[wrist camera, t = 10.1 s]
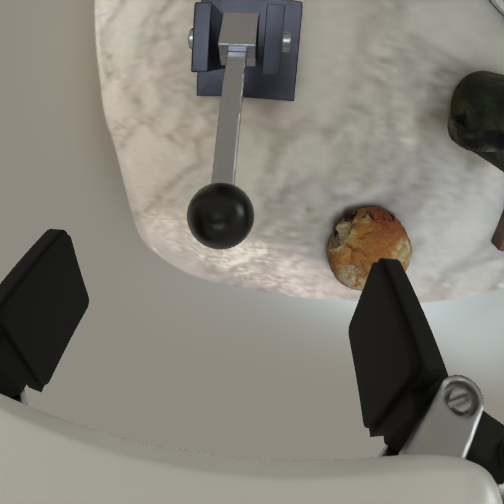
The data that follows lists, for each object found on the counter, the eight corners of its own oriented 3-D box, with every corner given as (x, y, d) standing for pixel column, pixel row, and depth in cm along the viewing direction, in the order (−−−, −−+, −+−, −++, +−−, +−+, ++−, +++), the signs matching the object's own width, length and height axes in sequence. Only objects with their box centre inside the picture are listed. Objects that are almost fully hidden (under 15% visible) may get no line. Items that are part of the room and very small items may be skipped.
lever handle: (251, 251, 18) (251, 252, 15) (191, 246, 18) (177, 246, 15) (267, 39, 18) (270, 8, 14) (216, 37, 18) (211, 6, 14)
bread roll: (328, 257, 42) (343, 312, 38) (312, 214, 34) (331, 280, 30) (397, 235, 40) (417, 288, 36) (397, 187, 32) (426, 249, 27)
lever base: (292, 99, 28) (309, 125, 17) (199, 94, 28) (157, 117, 17) (301, 3, 22) (324, -32, 12) (203, -1, 22) (164, -36, 12)
